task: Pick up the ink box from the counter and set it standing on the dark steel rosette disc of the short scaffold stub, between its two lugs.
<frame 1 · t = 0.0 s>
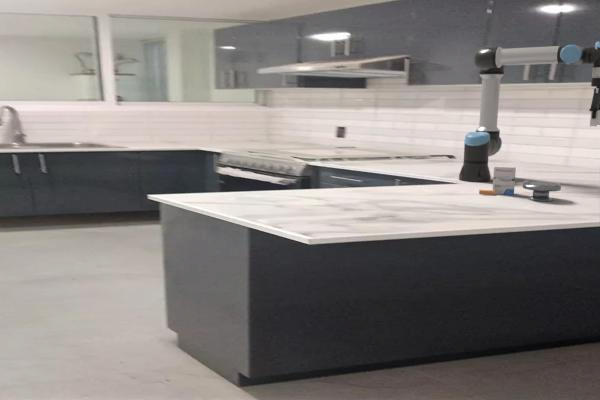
hand: (596, 125, 241), 28 cm above the worktop, fingers open, 13 cm apart
wedge pin: (486, 195, 228), on the worktop
rosette stub: (540, 199, 217), on the worktop
ink box: (503, 194, 229), on the worktop
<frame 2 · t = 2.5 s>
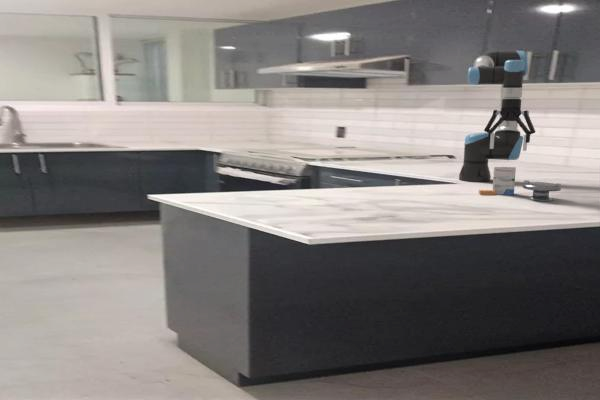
hand: (507, 149, 226), 19 cm above the worktop, fingers open, 13 cm apart
nothing on the worktop moved.
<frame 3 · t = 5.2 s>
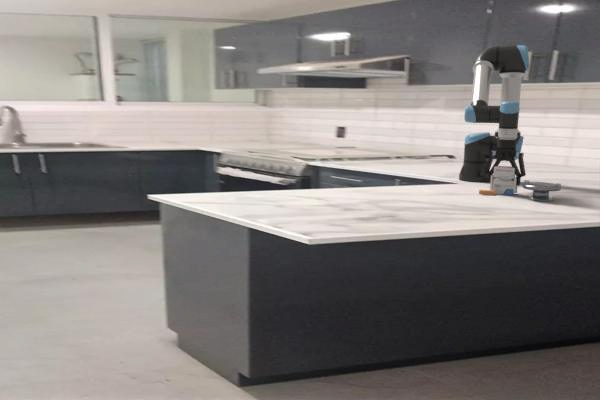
hand: (503, 191, 229), 1 cm above the worktop, fingers closed on ink box, 9 cm apart
ink box: (503, 194, 229), on the worktop, touching gripper
everything else where it was.
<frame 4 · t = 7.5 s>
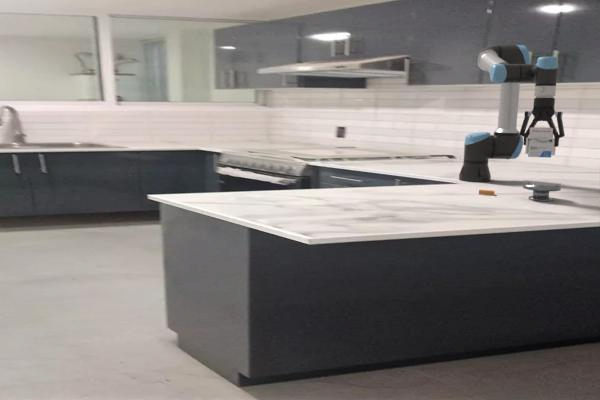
hand: (539, 154, 214), 18 cm above the worktop, fingers closed on ink box, 9 cm apart
ink box: (539, 157, 215), point 17 cm above the worktop, touching gripper
everything else where it was.
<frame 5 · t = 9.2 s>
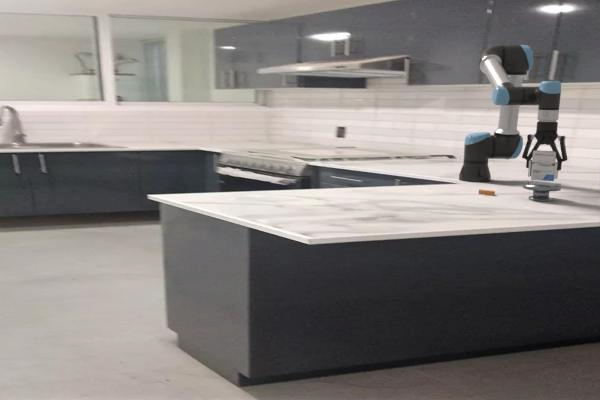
hand: (542, 177, 215), 9 cm above the worktop, fingers closed on ink box, 9 cm apart
ink box: (542, 180, 215), point 8 cm above the worktop, touching gripper
everything else where it was.
when the fingers open (8 cm above the worktop, at t = 10.2 s): ink box drops 1 cm, resting on rosette stub.
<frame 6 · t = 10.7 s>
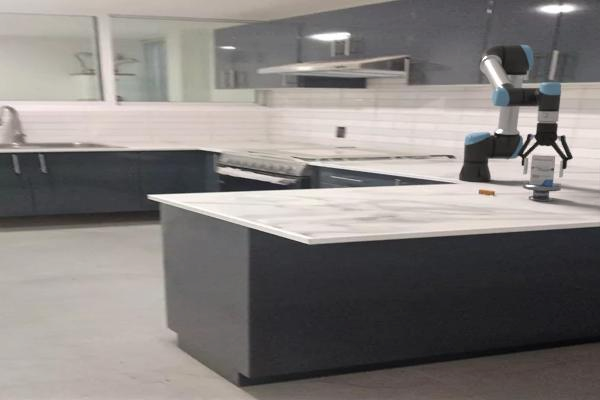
hand: (542, 175, 215), 10 cm above the worktop, fingers open, 13 cm apart
ink box: (541, 185, 216), point 6 cm above the worktop, touching rosette stub
everything else where it was.
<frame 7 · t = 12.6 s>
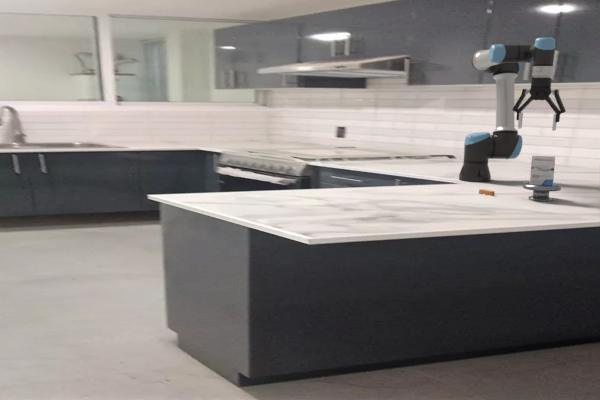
hand: (536, 129, 223), 27 cm above the worktop, fingers open, 13 cm apart
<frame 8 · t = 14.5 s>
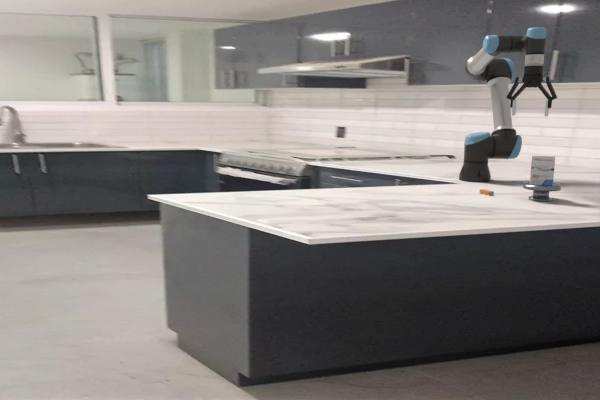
hand: (529, 115, 232), 33 cm above the worktop, fingers open, 13 cm apart
at the end: ink box inside the target area on the rosette stub (0.2 cm from its centre), point 5.8 cm above the rosette stub's base; ink box tilted 0°; the gripper is holding nothing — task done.
